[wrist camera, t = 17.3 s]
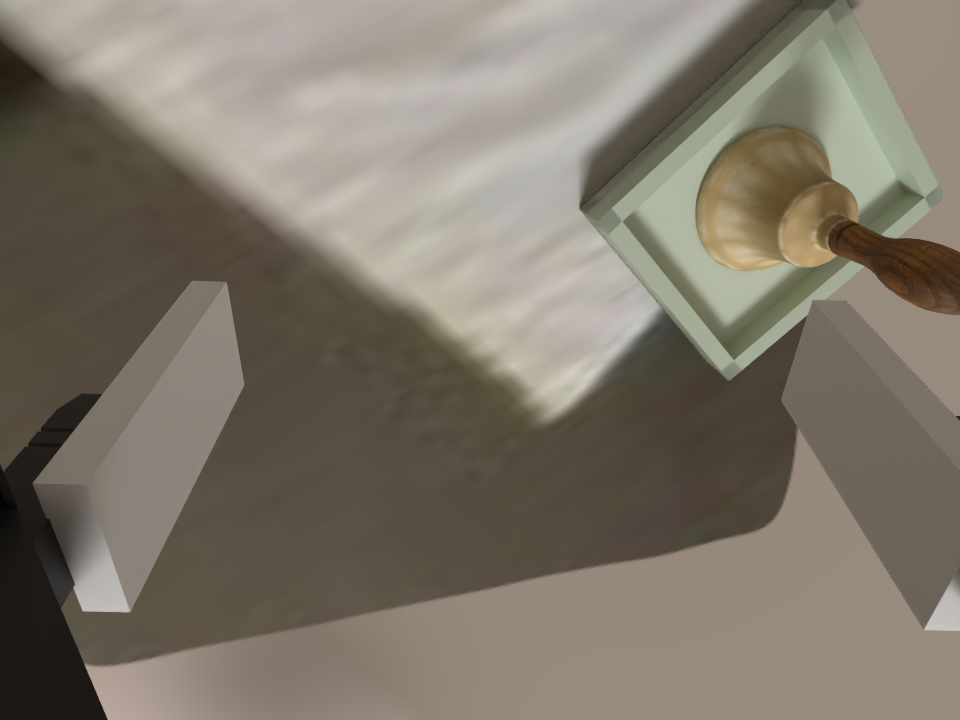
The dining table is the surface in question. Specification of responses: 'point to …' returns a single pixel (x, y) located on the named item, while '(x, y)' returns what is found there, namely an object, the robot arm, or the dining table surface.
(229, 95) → the dining table surface
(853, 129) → the tray
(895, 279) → the hand bell
